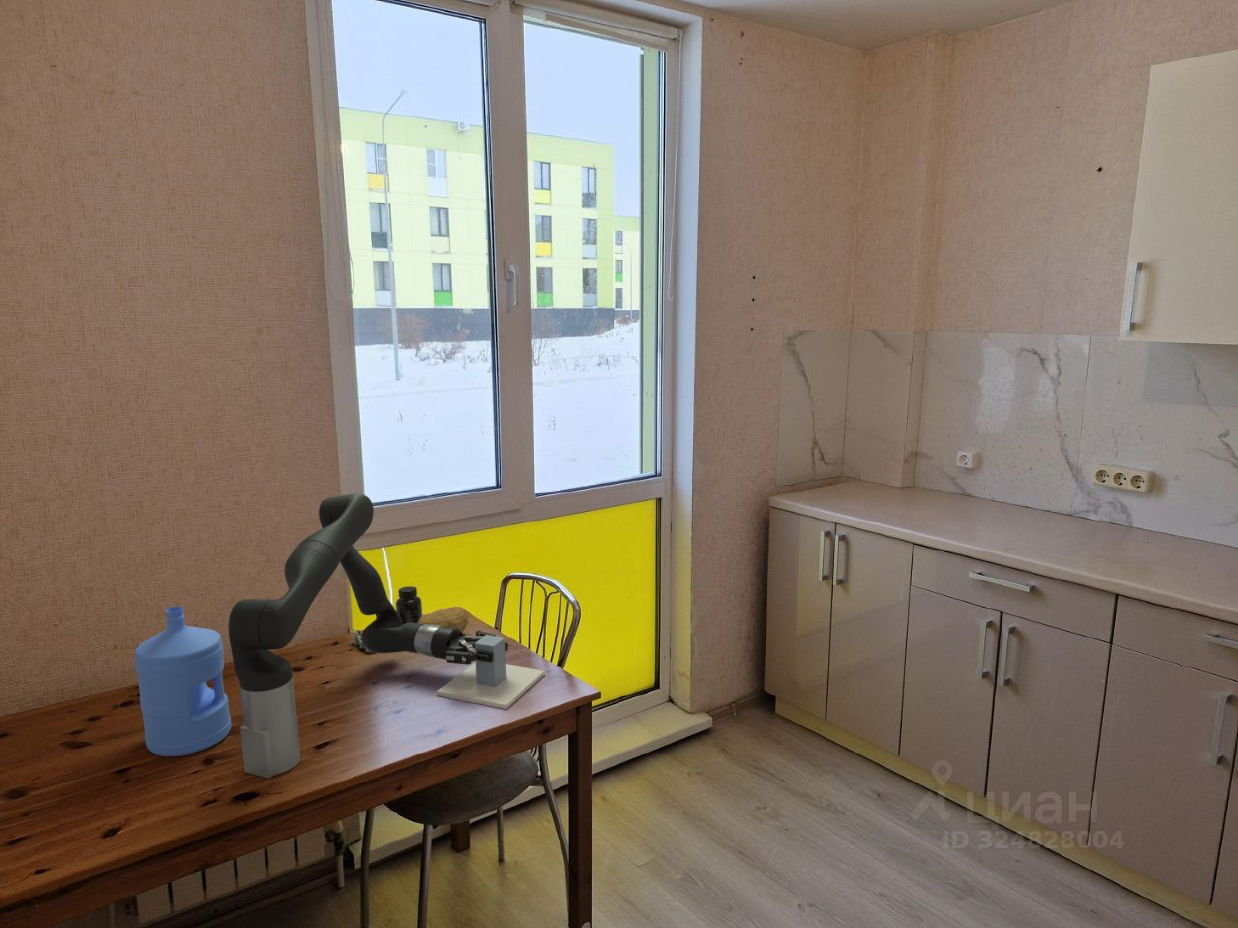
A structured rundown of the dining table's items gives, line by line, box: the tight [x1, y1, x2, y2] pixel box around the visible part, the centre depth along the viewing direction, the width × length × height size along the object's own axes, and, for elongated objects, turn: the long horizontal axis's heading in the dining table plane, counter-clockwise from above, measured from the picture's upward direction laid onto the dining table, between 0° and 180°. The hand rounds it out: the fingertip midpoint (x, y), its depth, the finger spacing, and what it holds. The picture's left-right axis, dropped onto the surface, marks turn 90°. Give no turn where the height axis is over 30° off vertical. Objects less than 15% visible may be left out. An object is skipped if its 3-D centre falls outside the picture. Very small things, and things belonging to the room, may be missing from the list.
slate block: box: [475, 635, 507, 687], centre depth 186 cm, size 5×5×10 cm
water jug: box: [134, 606, 232, 757], centre depth 163 cm, size 16×16×28 cm
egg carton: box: [351, 628, 375, 654], centre depth 210 cm, size 11×8×4 cm
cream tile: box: [436, 662, 545, 710], centre depth 187 cm, size 18×18×1 cm
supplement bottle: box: [395, 585, 423, 624], centre depth 218 cm, size 7×7×12 cm
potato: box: [418, 606, 469, 633], centre depth 212 cm, size 10×14×8 cm
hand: (499, 652), depth 185 cm, fingers open, 5 cm apart
